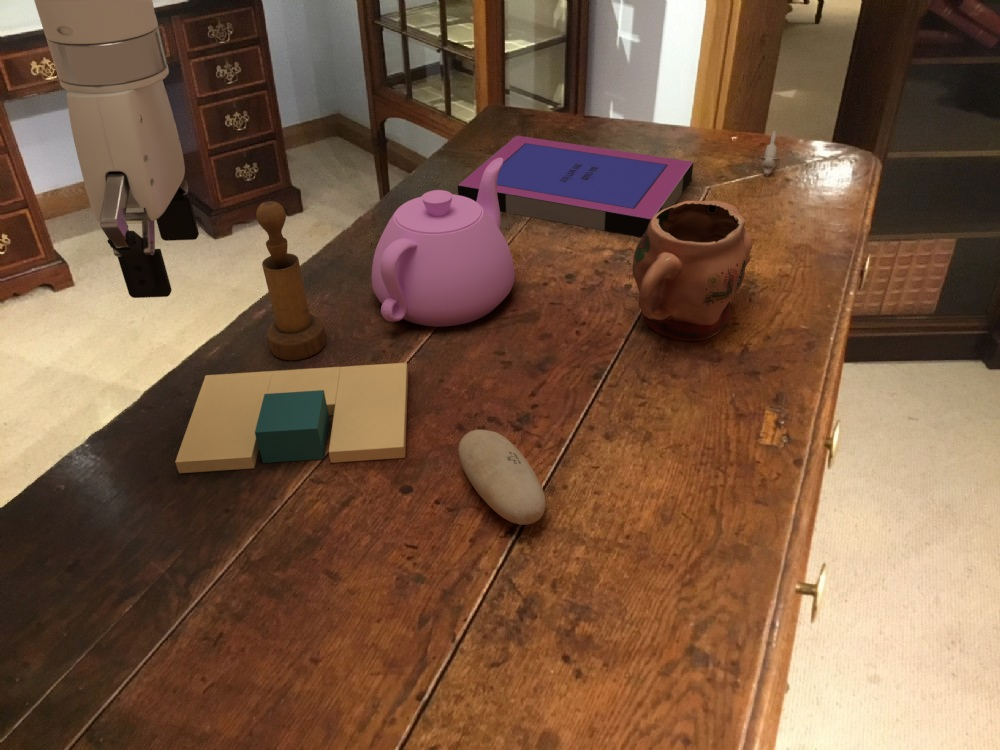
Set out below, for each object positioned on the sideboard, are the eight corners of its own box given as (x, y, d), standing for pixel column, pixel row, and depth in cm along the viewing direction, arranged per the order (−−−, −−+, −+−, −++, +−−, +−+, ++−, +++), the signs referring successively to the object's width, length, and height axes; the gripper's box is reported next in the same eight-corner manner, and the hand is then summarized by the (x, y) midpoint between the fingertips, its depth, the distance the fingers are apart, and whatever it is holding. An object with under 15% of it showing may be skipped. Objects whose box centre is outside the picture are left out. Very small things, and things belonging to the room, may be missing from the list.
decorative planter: (696, 389, 91) (711, 275, 82) (594, 355, 96) (599, 246, 88) (760, 302, 104) (779, 197, 96) (667, 277, 110) (677, 175, 101)
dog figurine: (754, 184, 136) (756, 167, 131) (762, 140, 138) (765, 121, 132) (775, 187, 135) (778, 169, 130) (783, 141, 137) (786, 123, 132)
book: (516, 135, 142) (693, 161, 131) (516, 152, 144) (691, 180, 133) (457, 185, 127) (652, 219, 116) (458, 203, 129) (650, 239, 118)
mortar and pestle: (267, 334, 102) (235, 195, 91) (322, 324, 103) (296, 186, 92) (273, 365, 97) (239, 222, 86) (330, 354, 98) (303, 211, 87)
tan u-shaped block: (178, 473, 83) (174, 462, 82) (208, 385, 94) (205, 375, 93) (405, 458, 84) (403, 446, 83) (408, 373, 95) (406, 362, 94)
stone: (494, 421, 83) (570, 458, 74) (488, 482, 85) (562, 526, 75) (442, 426, 80) (515, 465, 71) (438, 489, 82) (508, 536, 72)
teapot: (450, 361, 96) (442, 254, 88) (332, 318, 104) (314, 216, 96) (558, 265, 113) (560, 167, 105) (449, 234, 121) (442, 141, 113)
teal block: (262, 463, 84) (254, 432, 81) (271, 424, 88) (264, 393, 86) (324, 459, 84) (317, 428, 81) (329, 420, 89) (323, 389, 86)
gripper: (95, 27, 68) (149, 221, 79) (9, 98, 55) (88, 323, 65) (190, 25, 69) (231, 218, 79) (128, 95, 55) (188, 319, 65)
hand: (167, 265), depth 72 cm, fingers open, 9 cm apart
